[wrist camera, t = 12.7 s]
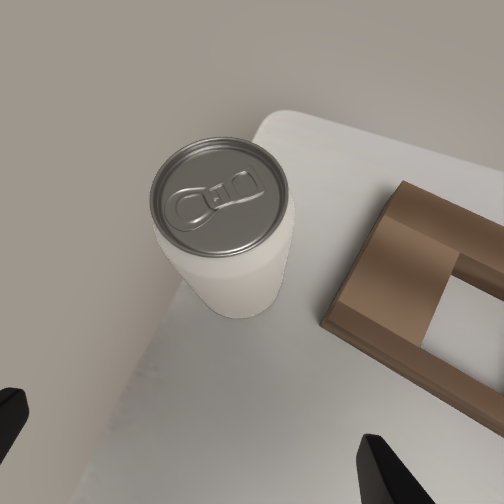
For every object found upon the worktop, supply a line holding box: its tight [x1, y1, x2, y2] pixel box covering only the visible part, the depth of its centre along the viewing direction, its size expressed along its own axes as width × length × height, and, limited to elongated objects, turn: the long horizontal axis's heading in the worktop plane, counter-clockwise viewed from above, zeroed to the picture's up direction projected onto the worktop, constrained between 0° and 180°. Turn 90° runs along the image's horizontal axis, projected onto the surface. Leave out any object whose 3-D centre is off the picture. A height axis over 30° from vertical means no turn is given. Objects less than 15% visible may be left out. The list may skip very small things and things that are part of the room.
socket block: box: [320, 181, 504, 438], centre depth 20 cm, size 12×18×3 cm, turn 58°
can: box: [150, 137, 295, 319], centre depth 18 cm, size 6×6×12 cm
